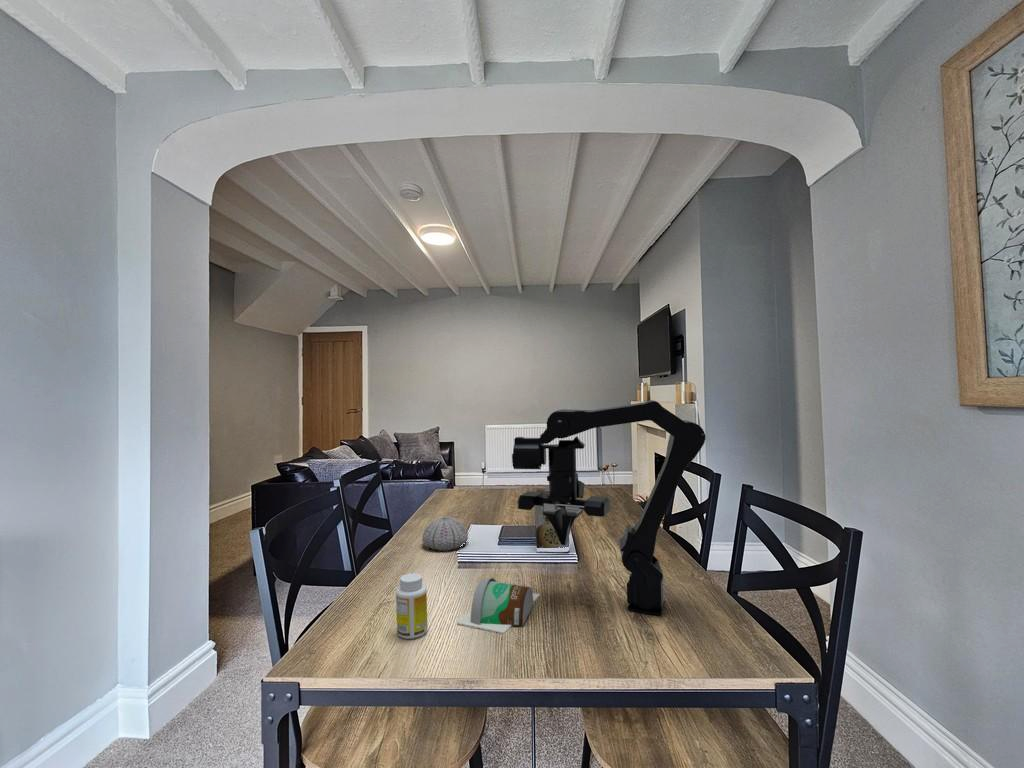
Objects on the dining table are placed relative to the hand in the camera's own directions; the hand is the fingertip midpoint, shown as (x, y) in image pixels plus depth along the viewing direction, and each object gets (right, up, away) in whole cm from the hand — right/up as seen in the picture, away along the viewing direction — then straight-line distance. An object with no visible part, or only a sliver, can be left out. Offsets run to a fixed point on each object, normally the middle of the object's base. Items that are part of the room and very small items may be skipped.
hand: (563, 544), depth 103 cm
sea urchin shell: (-30, -13, +39) cm, 51 cm away
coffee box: (+1, -13, +34) cm, 36 cm away
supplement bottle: (-29, -13, -12) cm, 34 cm away
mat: (-13, -12, -3) cm, 18 cm away
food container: (-8, -9, -6) cm, 13 cm away
